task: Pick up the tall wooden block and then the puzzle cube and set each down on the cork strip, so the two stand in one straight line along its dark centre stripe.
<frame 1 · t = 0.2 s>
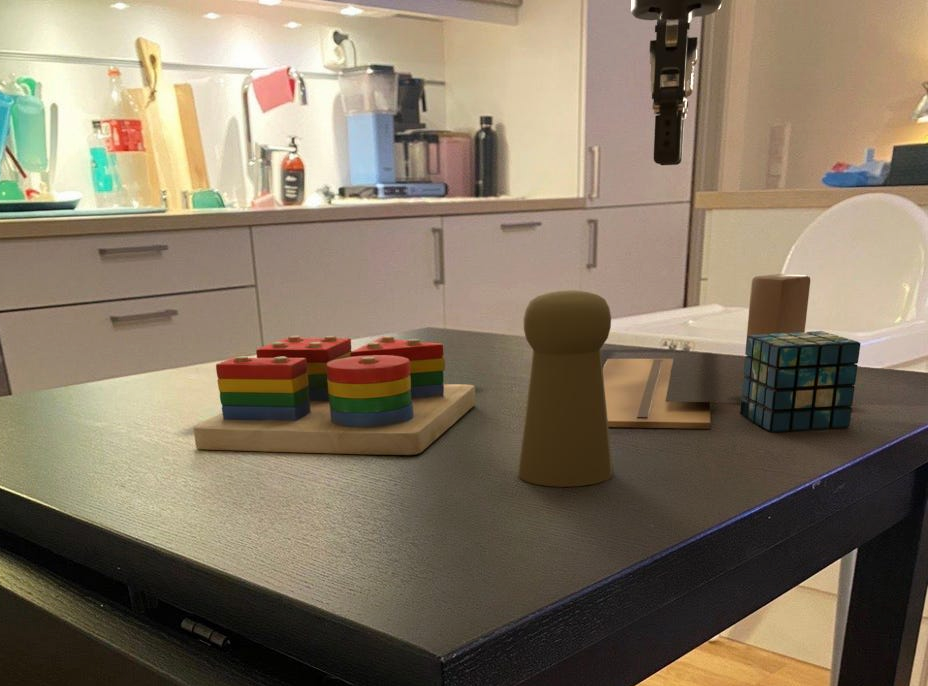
hand: (668, 164, 87), 18 cm above the table, tool pointing down, fingers open, 8 cm apart
pepper shaker: (564, 476, 62), on the table
wooden block: (772, 364, 96), on the table
cork strip: (650, 391, 85), on the table
puzzle: (792, 423, 73), on the table
shape sorter: (345, 428, 77), on the table
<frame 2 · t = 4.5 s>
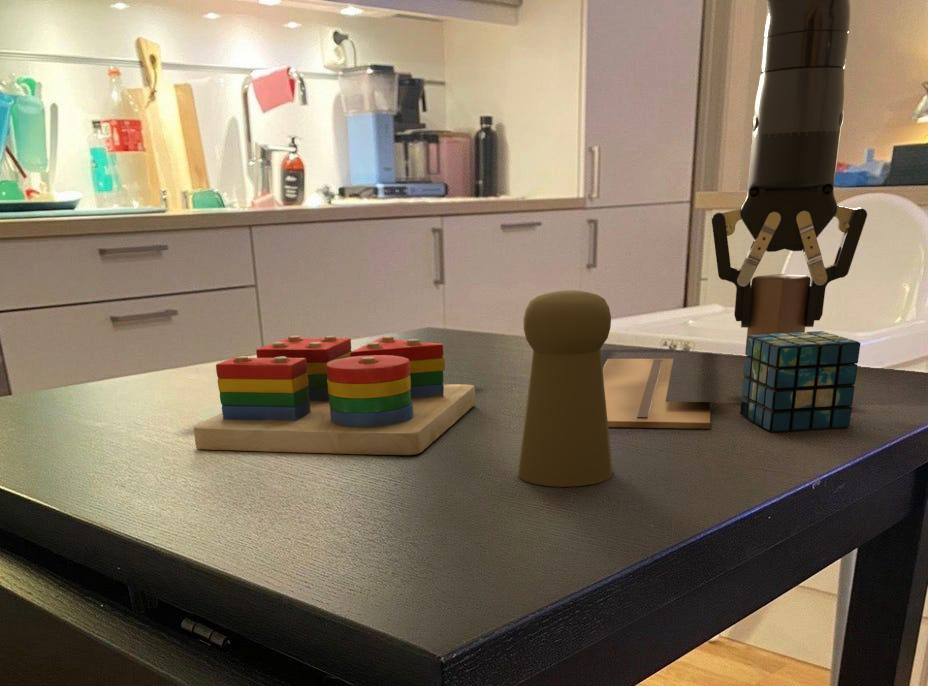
hand: (776, 325, 94), 3 cm above the table, tool pointing down, fingers closed on wooden block, 5 cm apart
wooden block: (772, 364, 96), on the table, touching gripper
everything else where it was.
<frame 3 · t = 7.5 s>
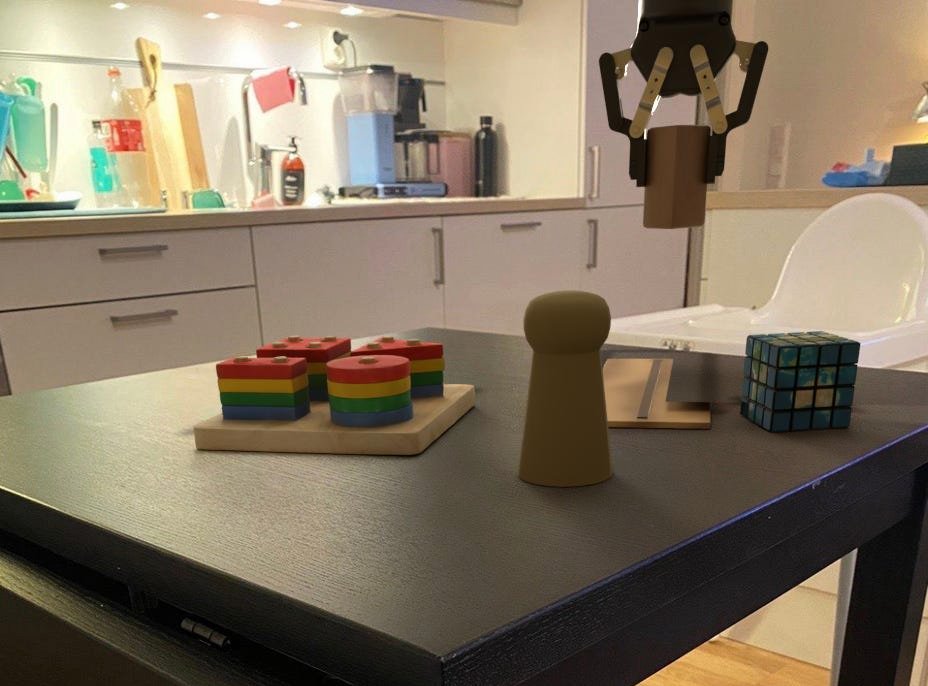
hand: (675, 184, 85), 16 cm above the table, tool pointing down, fingers closed on wooden block, 5 cm apart
wooden block: (673, 230, 86), point 13 cm above the table, touching gripper
everything else where it was.
when the fingers open (4 cm above the table, at t = 10.7 s): wooden block stays where it is, resting on cork strip.
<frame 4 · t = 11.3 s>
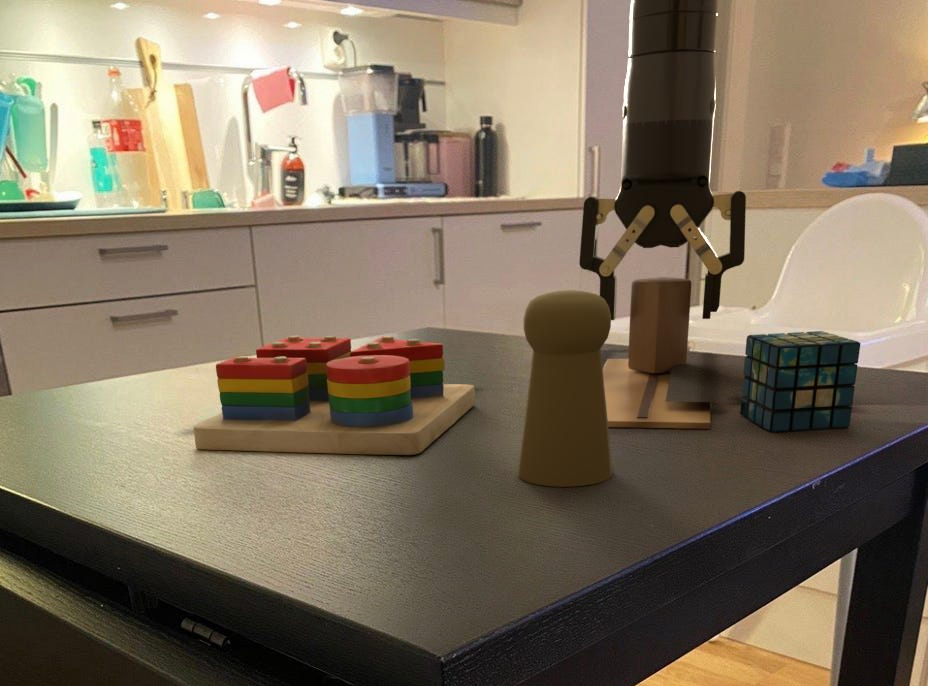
hand: (657, 318, 89), 5 cm above the table, tool pointing down, fingers open, 8 cm apart
wooden block: (656, 372, 91), resting on cork strip
everything else where it was.
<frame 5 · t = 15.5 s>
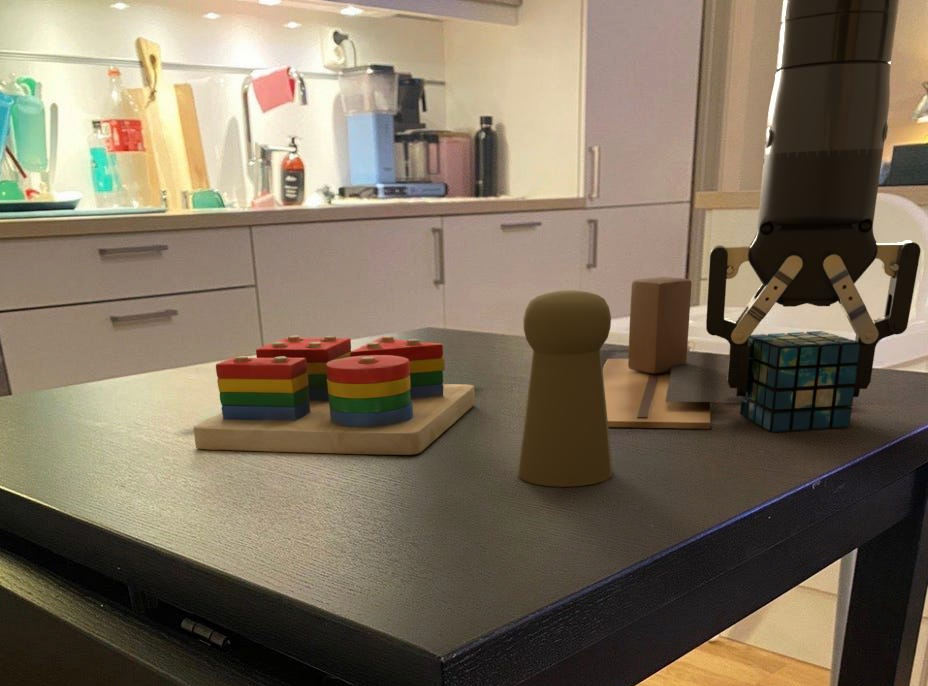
hand: (795, 394, 72), 2 cm above the table, tool pointing down, fingers closed on puzzle, 7 cm apart
puzzle: (792, 423, 73), on the table, touching gripper
everything else where it was.
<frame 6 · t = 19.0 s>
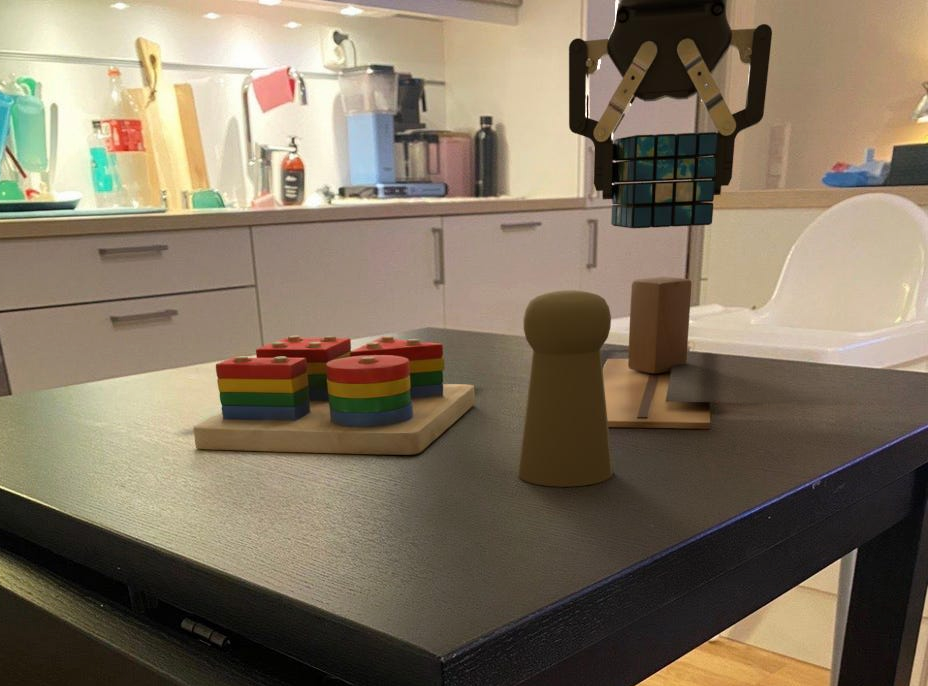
hand: (660, 196, 72), 16 cm above the table, tool pointing down, fingers closed on puzzle, 7 cm apart
puzzle: (659, 228, 73), point 13 cm above the table, touching gripper
everything else where it was.
when the fingers open (3 cm above the table, at t = 22.5 s): puzzle stays where it is, resting on cork strip.
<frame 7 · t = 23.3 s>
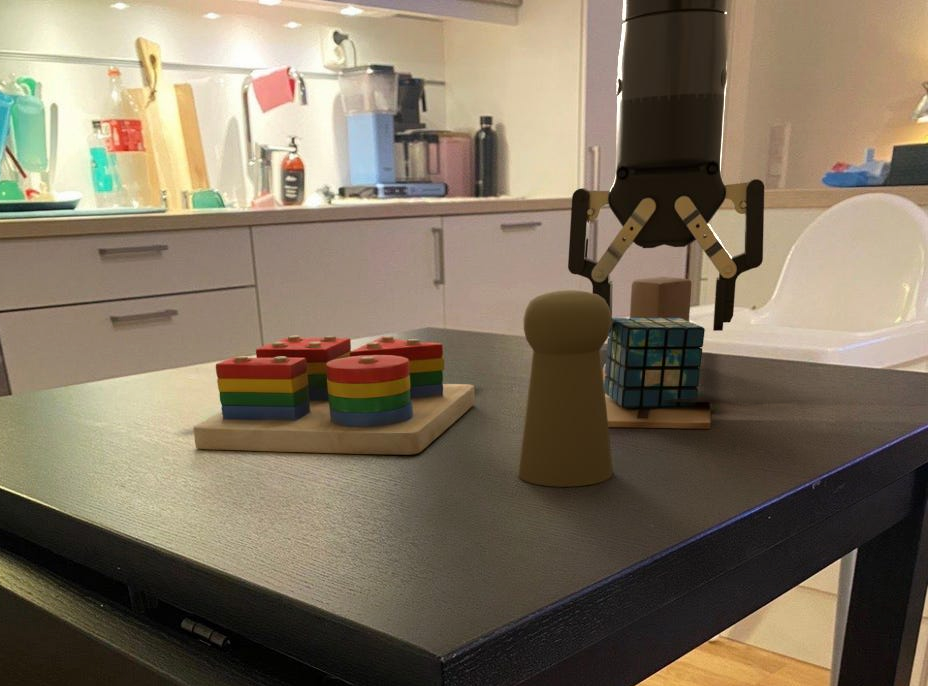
hand: (660, 330, 76), 6 cm above the table, tool pointing down, fingers open, 8 cm apart
puzzle: (648, 402, 78), resting on cork strip
everything else where it was.
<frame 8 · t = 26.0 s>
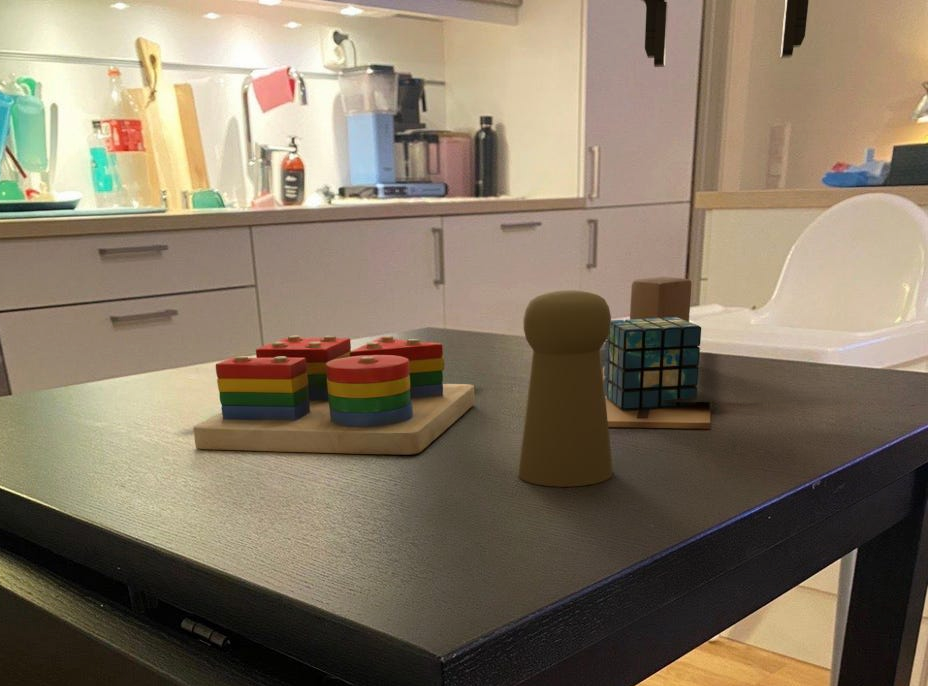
hand: (721, 61, 68), 24 cm above the table, tool pointing down, fingers open, 8 cm apart
nothing on the table moved.
at the end: wooden block 0.1 cm from the target spot on the cork strip, point 0.4 cm above the cork strip's base; puzzle 0.1 cm from the target spot on the cork strip, point 0.4 cm above the cork strip's base; wooden block tilted 0° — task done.
